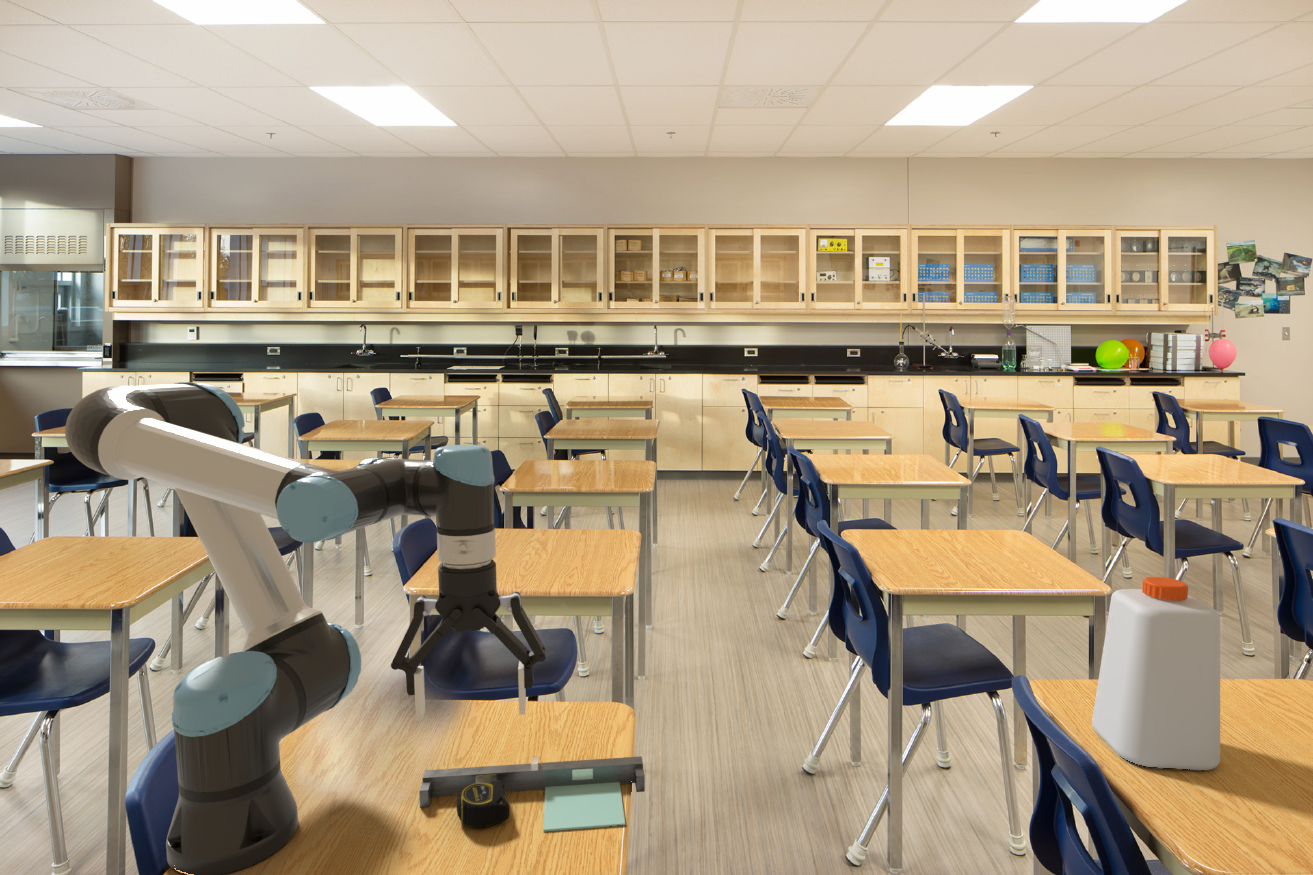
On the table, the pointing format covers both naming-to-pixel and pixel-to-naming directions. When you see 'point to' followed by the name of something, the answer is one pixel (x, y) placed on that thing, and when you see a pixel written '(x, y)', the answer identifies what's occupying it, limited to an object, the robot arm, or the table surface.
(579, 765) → the rail
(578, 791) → the pad
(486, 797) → the tape measure
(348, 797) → the table surface
